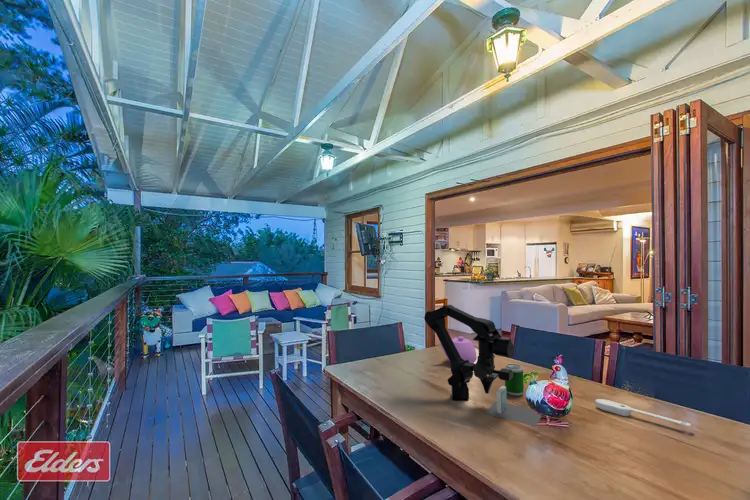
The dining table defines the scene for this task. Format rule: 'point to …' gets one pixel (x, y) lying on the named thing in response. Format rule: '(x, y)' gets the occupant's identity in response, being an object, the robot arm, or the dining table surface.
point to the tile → (501, 399)
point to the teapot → (464, 349)
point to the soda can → (515, 380)
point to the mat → (516, 414)
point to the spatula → (629, 410)
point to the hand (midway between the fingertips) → (487, 393)
